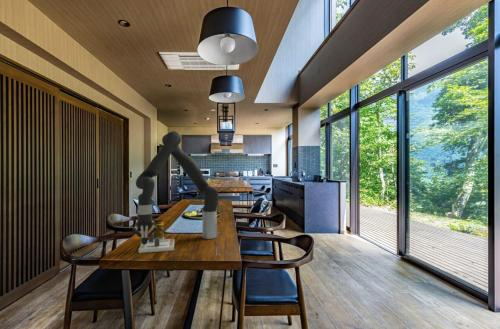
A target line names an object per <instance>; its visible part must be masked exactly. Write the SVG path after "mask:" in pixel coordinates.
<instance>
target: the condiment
mask: <svg viewBox="0 0 500 329" xmlns="http://www.w3.org/2000/svg"><path fill="white" fill-rule="evenodd" d="M153 225H154V226H157V228H156V230H155V231H154V232H153V234H154V240H155V238H160V240H163V239H166V237H165V236H164V232H165V231H164V230H165V229H164V227H165V224H164V219H163V218H156V219H154V223H153Z"/></svg>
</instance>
